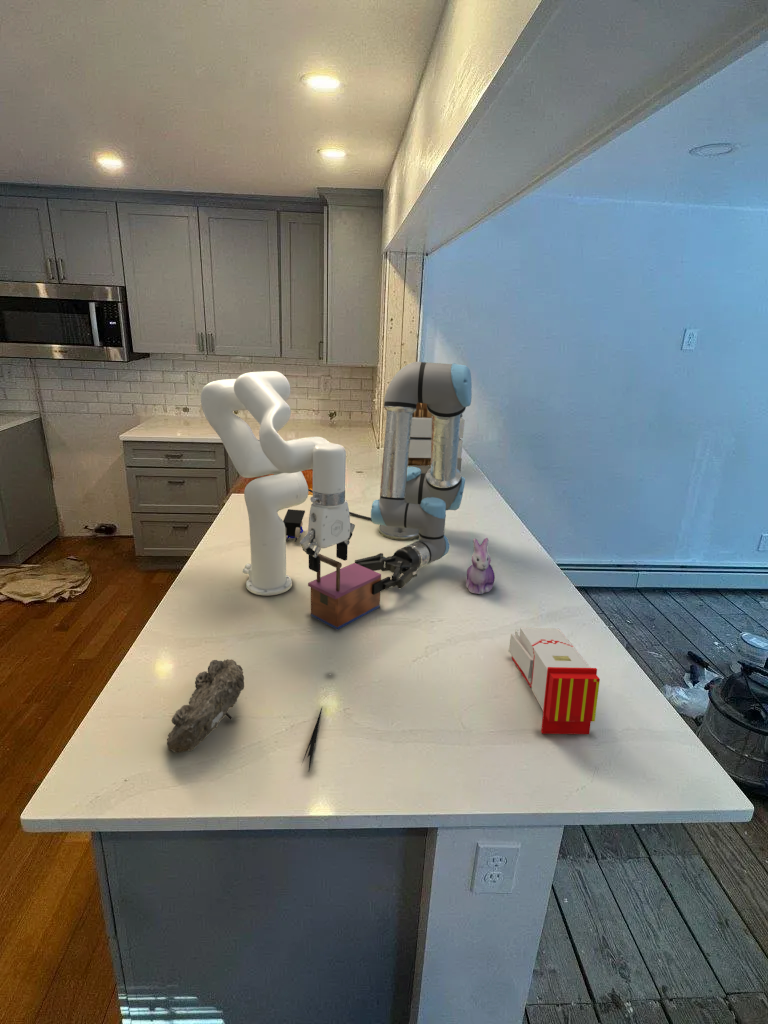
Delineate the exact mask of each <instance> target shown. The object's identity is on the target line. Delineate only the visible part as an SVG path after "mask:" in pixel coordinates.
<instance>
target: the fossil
mask: <svg viewBox="0 0 768 1024" xmlns="http://www.w3.org/2000/svg"><path fill="white" fill-rule="evenodd" d="M243 670H244V669H243V667H242V665H240V664H237V662H236V661H235V660H234V659H232V658H231V659H227V658H226V659H224V660H223V661H222V660H217V659H212V660H211V661H210V663H209V665H208V666H207V671H201V672H199V673H198V674H197V675H196V676H195V680H194V684H195V685H194V687H195V689H194V690H193V693H192V694H191V697H190V698H189V700H188V704H184V705H182V706H181V707H180V709H177V710H176V711H175V713H174V715H173V716H172V718H171V723H172V724H173V727H172V730H171V731H170V732H168V734H167V738H166V741H167V742H166V745H167V749H168V750H169V751H173V752H174V753H176V754H178V753H182V752H188V751H189V752H192V751H193V750H195V748H196V747H197V746H199V744H200V743H201V742H203V741H204V740H205V739H206V738H207V737H208V736H209V735H210V734H211V733H212V732H214V730H215V729H217V727H218V726H219V724H220V722H221V721H222V720H223V719H224V718H225V716H226V717H227V719H229V720H233V717H232V715H230V714H229V710H230V709H231V708H234V706H235V704H236V703H237V702H238V699H239V697H240V695H241V693H242V691H243V690H245V689H244V688H245V675H244V671H243Z"/></svg>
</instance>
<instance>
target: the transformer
mask: <svg viewBox="0 0 768 1024" xmlns="http://www.w3.org/2000/svg"><path fill="white" fill-rule="evenodd" d="M385 414H386V415H385V418H386V417H387V411H386V413H385ZM431 427H432V414H431V413H430V412H429V411H428V410H427V404H426V403H417V407H416V411H415V412H414V413H413V414H412V424H411V435H410V446H409V458H408V467H417V466H418V467H431ZM464 429H465V419H464V418H463V413H462V414H461V415H460V426H459V442H458V459H457V469H458V470H459V471H460V473H461V472H462V461H463V460H462V453H463V442H464V441H463V440H462V439H463V438H464V431H465V430H464ZM461 474H462V473H461Z"/></svg>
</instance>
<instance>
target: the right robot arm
mask: <svg viewBox="0 0 768 1024" xmlns="http://www.w3.org/2000/svg"><path fill="white" fill-rule="evenodd" d="M471 373H472V372H471V369H470V368H469V366H467V365H465V364H457V363H455V362H453V363H441V362H424V361H413V362H410V363H408V364H406V365H404V366H403V367H401V368H400V369H399V370H398V371H397V372H396V373H395V374H394V376H393V377H392V378H391V381H390V382H389V384H388V386H387V389H386V391H385V395H384V400H383V408H384V410H385V411H386V412H387V417H386V416H385V430H384V442H383V452H382V453H383V455H382V464H381V465H382V466H381V476H380V488H379V489H380V490H379V499H374V500H373V501H372V503H371V504H372V505H371V509H370V516H365V515H362V514H359V513H355V512H351V511H349V515H350V516H354V517H357V518H360V519H364V520H368V521H371V522H372V523H373V524H374V525H378V533H379V534H380V535H381V536H382V537H385V538H387V539H389V540H395V541H410V540H415V539H418V540H416V541H415V542H412V543H410V544H407V545H406V546H404V547H401V548H399V549H397V550H396V551H395V552H394V553H393V554H392V555H391V556H384V553H383V552H380V553H377V554H376V555H372V556H367V557H363V558H358V559H355V560H354V563H356V564H358V565H361V566H363V567H365V568H368V569H370V570H373V571H375V572H377V571H381V572H388V571H389V572H392V575H391V576H386V577H385V578H383V579H382V578H381V580H380V581H378V582H376V583H374V584H372V594H373V595H375V594H377V593H379V592H380V593H381V592H383V591H384V590H388V589H391V588H395V587H397V588H398V589H399V590H400V589H403V588H404V587H405V586H406V585H407V584H408V583H409V582H410V581H411V579H413V578H416V577H417V576H418V570H419V569H421V568H423V567H425V566H427V565H429V564H431V563H434V562H435V561H439V560H440V559H442V558H443V557H445V556H446V555H447V554H448V553H449V551H450V549H451V548H450V542H449V538H448V537H447V536H446V535H445V527H446V526H445V525H446V518H447V514H446V512H447V511H457V510H458V509H460V507H461V504H462V500H463V494H464V490H465V484H466V478H465V477H464V476H462V473H460V471H459V470H458V469H457V459H458V442H459V426H460V415H461V414H462V415H463V414H464V412H465V411H466V408H467V407H470V406H471V404H472V397H473V395H472V392H473V391H472V390H473V389H472V388H473V384H472V383H473V382H472V374H471ZM417 403H426V404H427V410H428V411H429V412H430V413H431V414H432V427H431V465H430V468H428V469H427V471H426V473H423V472H422V469H421V468H420V467H417V466H408V458H409V446H410V435H411V424H412V414H413V413H414V412H415V411H416V407H417ZM308 493H312V494H313V489H310V488H308Z"/></svg>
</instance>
